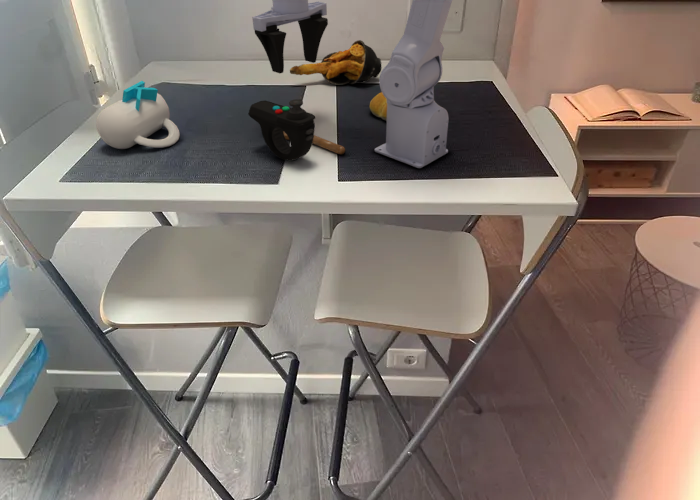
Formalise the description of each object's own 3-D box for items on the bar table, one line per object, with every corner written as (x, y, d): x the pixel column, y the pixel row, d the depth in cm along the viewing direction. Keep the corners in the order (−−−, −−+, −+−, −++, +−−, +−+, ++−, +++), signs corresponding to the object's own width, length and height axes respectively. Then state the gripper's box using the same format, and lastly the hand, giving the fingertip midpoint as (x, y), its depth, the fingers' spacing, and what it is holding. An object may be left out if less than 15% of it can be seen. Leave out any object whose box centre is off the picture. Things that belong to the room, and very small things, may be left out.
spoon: (356, 149, 94) (356, 141, 94) (331, 161, 91) (331, 153, 90) (286, 122, 104) (286, 115, 103) (261, 132, 100) (260, 125, 100)
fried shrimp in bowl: (393, 64, 116) (314, 45, 108) (369, 105, 124) (294, 90, 115) (381, 36, 121) (304, 16, 112) (358, 77, 129) (285, 61, 120)
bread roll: (395, 127, 102) (396, 105, 99) (362, 113, 107) (362, 92, 105) (427, 115, 106) (429, 94, 104) (394, 102, 112) (394, 82, 109)
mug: (89, 94, 88) (138, 71, 97) (86, 141, 94) (132, 115, 103) (154, 131, 88) (197, 105, 97) (146, 176, 93) (187, 147, 103)
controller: (303, 172, 88) (299, 110, 82) (249, 150, 94) (242, 91, 89) (321, 162, 91) (319, 101, 85) (268, 142, 97) (262, 84, 91)
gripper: (304, -29, 96) (308, 52, 104) (236, -17, 88) (246, 71, 95) (334, -25, 92) (336, 60, 100) (266, -11, 84) (274, 80, 91)
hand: (294, 66), depth 97 cm, fingers open, 7 cm apart
